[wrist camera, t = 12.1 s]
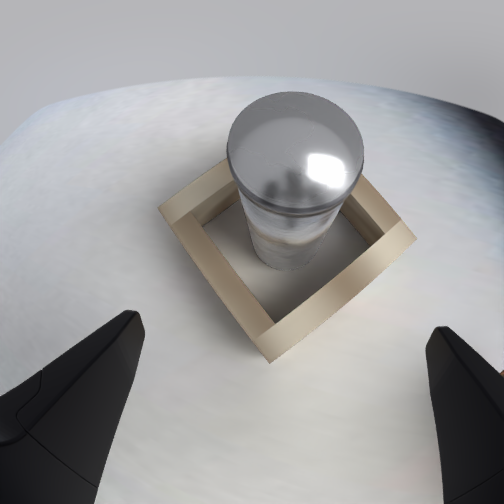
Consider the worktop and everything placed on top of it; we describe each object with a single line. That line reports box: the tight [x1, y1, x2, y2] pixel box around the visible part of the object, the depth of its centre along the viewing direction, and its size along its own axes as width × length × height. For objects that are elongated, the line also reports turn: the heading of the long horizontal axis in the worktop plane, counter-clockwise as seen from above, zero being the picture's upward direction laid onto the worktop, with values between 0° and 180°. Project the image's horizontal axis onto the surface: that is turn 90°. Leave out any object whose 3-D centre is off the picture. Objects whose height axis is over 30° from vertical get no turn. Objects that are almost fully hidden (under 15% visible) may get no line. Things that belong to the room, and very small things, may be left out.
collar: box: [158, 158, 417, 364], centre depth 19 cm, size 11×11×3 cm
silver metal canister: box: [226, 92, 364, 270], centre depth 15 cm, size 5×5×11 cm
